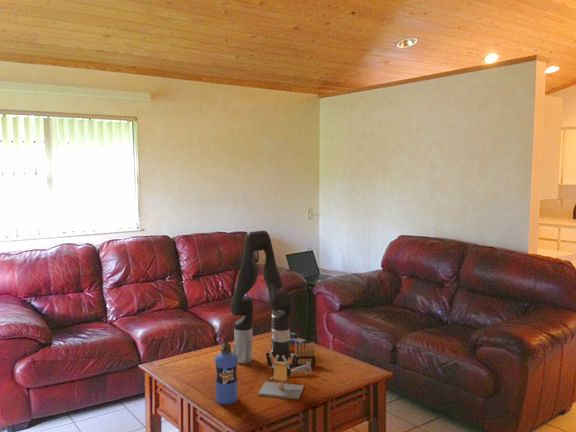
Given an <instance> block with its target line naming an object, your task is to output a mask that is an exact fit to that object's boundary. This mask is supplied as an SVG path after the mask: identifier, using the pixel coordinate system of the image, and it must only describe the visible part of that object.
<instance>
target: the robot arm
mask: <svg viewBox="0 0 576 432" xmlns="http://www.w3.org/2000/svg"><path fill="white" fill-rule="evenodd" d="M271 240H272V239H271V237H270V234H269V233H268V231H266V230H256V231H249V232H247V233H246V234H245V238H244V242H243V243H244V244H243V250H242V258H241V264H240V267H239V271H238V276H237V282H236V285H235V286H236V287H235V289H234V293H233V294H232V298H231V302H230V313H231V314H232V315H233V316H235V317H240V316H242V317H240V319H237V320H236V321H234V324H233V325H234V326H233V333H234V336H233V337H234V339H233V340H234V342H233V343H232V353H233V354H236V355H237V364H244V365H245V364H249V363H251V362H252V361H253V323H254V301H253V298H252V297H251V296H248V295H247V296H245V295H246V294H247V293H249V292H250V291H251V290H252V289H253V288H254V287H255V285H256V283H257V280H258V276H259V268H258V266H257V264H256V262H255V261H254V257H253V256H254V253H255V252H261V251H263V252H264V255H265V262H264V266H263V269H262V270H263V273H262V275H263V279H264V282H265V284H266V287H267V292H268V304H269V307H270V309H271V310H272V309H273V310H274V311H279V310H281V312H280V313H279V314H277V315H275V316H274V319H272V320H273V326H272V327H273V351H272V350H271V351H269V350H267V351H266V353H265V357H266V362H267V367H270V368H271V374H272V377H273V376H274V365H276V363H277V362H285V364H286V366H287V377H288V378H289V377H290V376H291V375H292V374H291V370H292V369H295V367H294V366H295V363H296V358H297V354H296V353H295V354H294V352H293V353H292V352H291V331H290V320H291V319H290V318H291V314H292V312H293V308H294V298H293V296H292V295H291V293H289V292H283V293H278V291H280V290H282V289H283V288H284V283H283V280H282V277H281V275H280V272H279V270H278V267H277V263H276V258H275V253H274V249H273V245H272V241H271ZM272 356H273V358H274V360H273V362H272ZM290 357H291V360H292V361H290Z"/></svg>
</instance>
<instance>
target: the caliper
mask: <svg viewBox="0 0 576 432" xmlns="http://www.w3.org/2000/svg"><path fill="white" fill-rule="evenodd" d="M302 372H304V373H305V374H306V376H307V375H308V374H310V375H312V366H311V365H310V363H309V362H308V363H306V365H303V366H299V367H295V368H292V369H291V374H290V375H292V374H296V373H298V374H300V373H302ZM270 380H274V376H273V375H272V376H270Z"/></svg>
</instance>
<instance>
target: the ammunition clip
mask: <svg viewBox="0 0 576 432" xmlns="http://www.w3.org/2000/svg"><path fill="white" fill-rule="evenodd" d="M315 348H316V347H315V342H314V341H313V342H312V343H311V342H309V344H308V342H302V344H301V343H300V342H298V344H297V342H295V344H294V352H293V354H295V353H296V354H297V358H296V363H295V366H294V368H297V367H299V366H303V365H306V363H308V362H309V363H310V365H311V367H315V366H316V349H315Z"/></svg>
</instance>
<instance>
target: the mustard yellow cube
mask: <svg viewBox="0 0 576 432" xmlns="http://www.w3.org/2000/svg"><path fill="white" fill-rule="evenodd" d="M288 378H289V377H287V366H286V364H285V362H282V361H280V362H278V361H277V363H276V365H274V379H273V380H276V381H279V380H284V382H285V381H288Z"/></svg>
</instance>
